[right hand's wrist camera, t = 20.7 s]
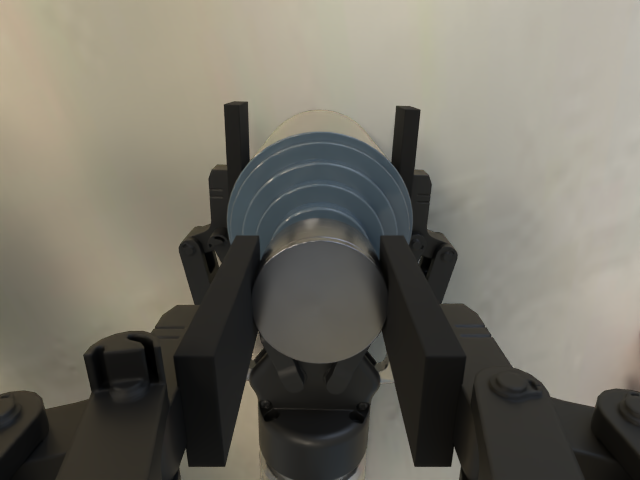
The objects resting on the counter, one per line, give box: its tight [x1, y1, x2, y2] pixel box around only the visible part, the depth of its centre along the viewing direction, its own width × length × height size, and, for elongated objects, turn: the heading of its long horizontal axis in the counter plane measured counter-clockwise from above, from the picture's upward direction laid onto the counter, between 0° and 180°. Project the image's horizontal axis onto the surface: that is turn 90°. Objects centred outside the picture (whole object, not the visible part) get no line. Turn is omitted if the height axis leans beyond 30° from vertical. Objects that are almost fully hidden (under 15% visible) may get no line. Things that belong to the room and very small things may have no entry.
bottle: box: [227, 110, 413, 259], centre depth 22 cm, size 8×8×19 cm
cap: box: [251, 218, 388, 364], centre depth 14 cm, size 4×4×2 cm
